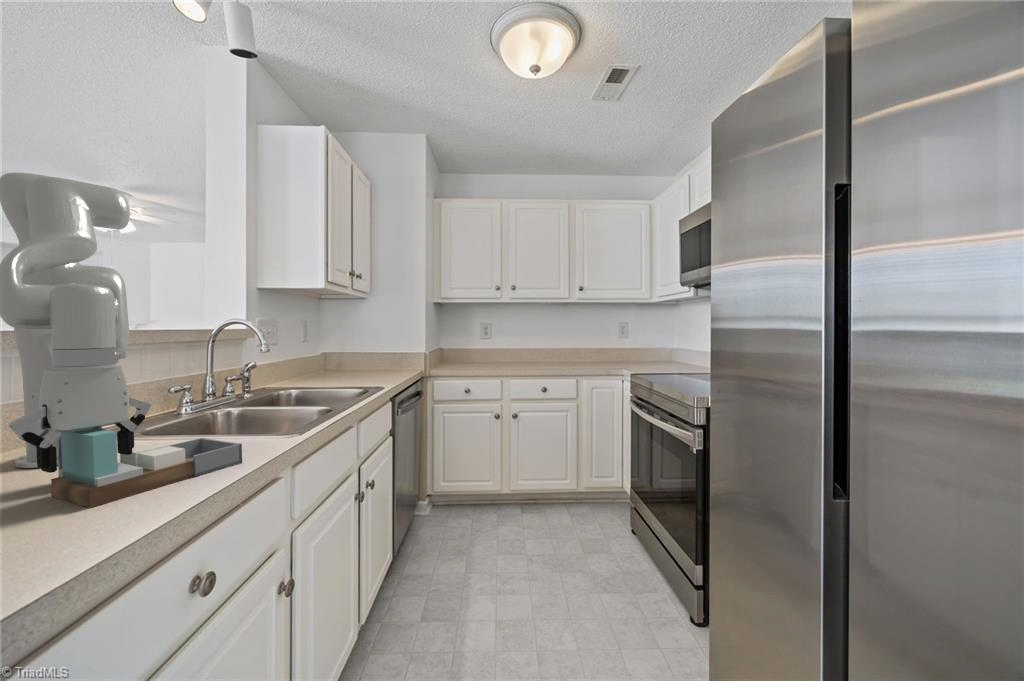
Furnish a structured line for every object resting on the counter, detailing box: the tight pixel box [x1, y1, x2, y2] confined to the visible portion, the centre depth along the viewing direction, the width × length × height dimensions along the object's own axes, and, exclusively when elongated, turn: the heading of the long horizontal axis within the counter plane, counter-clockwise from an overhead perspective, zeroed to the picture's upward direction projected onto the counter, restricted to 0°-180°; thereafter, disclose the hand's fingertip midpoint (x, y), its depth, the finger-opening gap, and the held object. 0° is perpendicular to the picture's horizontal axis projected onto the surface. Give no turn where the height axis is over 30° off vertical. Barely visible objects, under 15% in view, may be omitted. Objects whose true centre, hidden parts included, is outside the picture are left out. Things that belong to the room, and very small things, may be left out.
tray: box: [168, 437, 243, 478], centre depth 86 cm, size 13×9×4 cm
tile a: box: [119, 442, 168, 466], centre depth 80 cm, size 5×5×2 cm
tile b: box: [137, 445, 185, 470], centre depth 78 cm, size 5×5×2 cm
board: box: [50, 459, 195, 509], centre depth 75 cm, size 12×15×3 cm
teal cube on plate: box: [58, 428, 143, 487], centre depth 72 cm, size 12×6×8 cm, turn 67°
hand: (89, 462), depth 71 cm, fingers open, 9 cm apart
